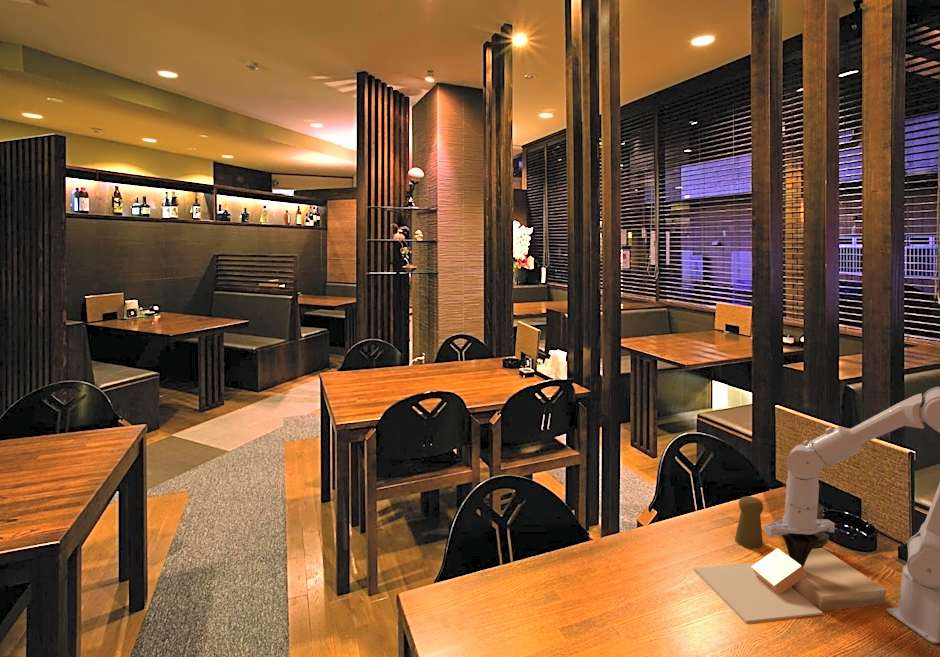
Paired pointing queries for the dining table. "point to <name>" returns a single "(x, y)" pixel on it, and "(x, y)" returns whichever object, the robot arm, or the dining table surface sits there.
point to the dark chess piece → (821, 535)
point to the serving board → (836, 583)
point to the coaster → (778, 571)
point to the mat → (754, 594)
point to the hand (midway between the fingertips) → (796, 565)
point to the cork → (750, 523)
